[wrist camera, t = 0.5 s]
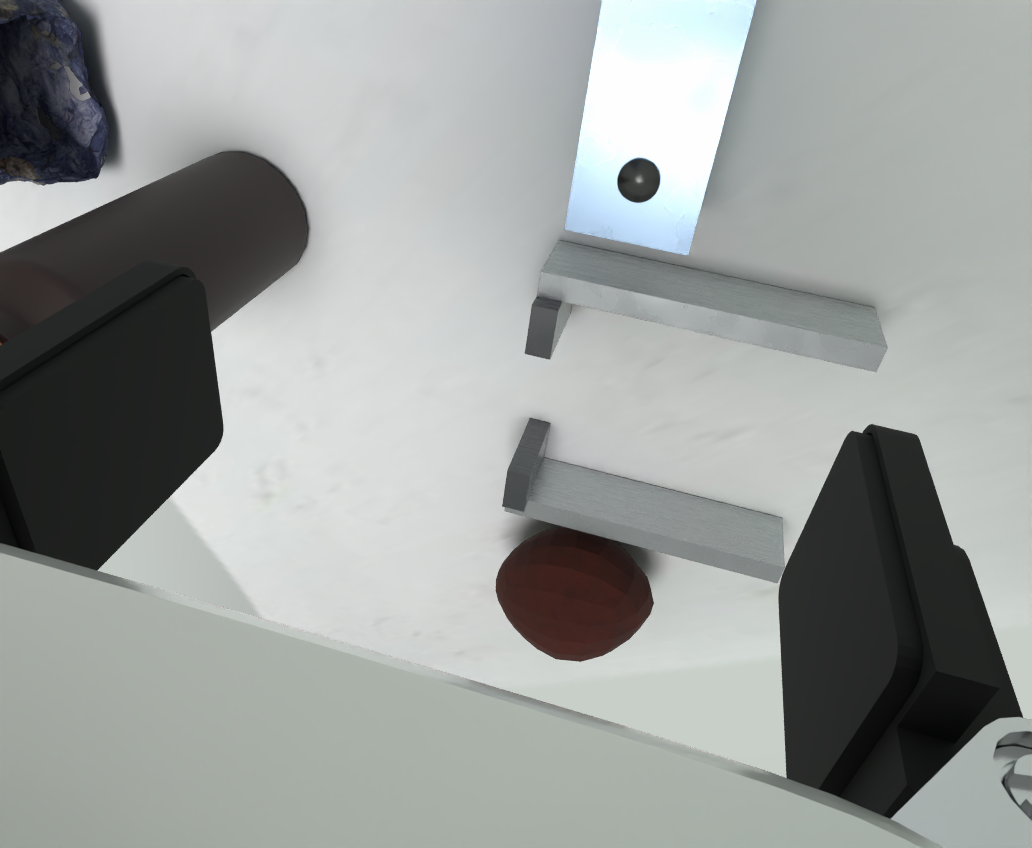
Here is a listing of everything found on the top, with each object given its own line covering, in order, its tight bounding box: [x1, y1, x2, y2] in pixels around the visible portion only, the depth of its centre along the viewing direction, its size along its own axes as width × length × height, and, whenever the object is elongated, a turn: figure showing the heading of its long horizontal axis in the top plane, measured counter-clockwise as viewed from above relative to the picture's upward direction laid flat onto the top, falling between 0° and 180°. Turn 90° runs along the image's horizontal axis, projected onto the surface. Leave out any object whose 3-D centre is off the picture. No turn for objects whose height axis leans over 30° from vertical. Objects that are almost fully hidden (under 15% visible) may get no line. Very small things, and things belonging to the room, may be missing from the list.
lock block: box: [565, 0, 757, 256], centre depth 30 cm, size 5×10×6 cm, turn 173°
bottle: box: [0, 152, 308, 345], centre depth 32 cm, size 7×7×20 cm
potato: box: [496, 527, 654, 662], centre depth 45 cm, size 8×9×8 cm
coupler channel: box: [502, 240, 887, 583], centre depth 38 cm, size 15×14×5 cm
